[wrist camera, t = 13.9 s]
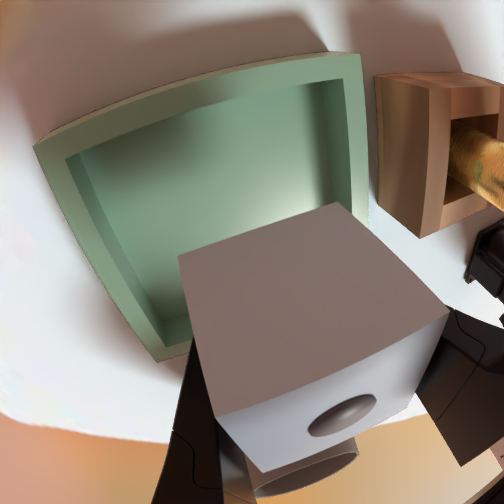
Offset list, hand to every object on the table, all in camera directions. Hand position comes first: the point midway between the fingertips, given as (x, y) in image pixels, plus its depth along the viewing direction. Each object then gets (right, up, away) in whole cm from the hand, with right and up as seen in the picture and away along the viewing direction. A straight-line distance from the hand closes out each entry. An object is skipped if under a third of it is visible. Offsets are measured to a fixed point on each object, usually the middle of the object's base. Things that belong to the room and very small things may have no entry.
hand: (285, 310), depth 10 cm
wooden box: (+10, +9, +7) cm, 15 cm away
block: (0, +1, +1) cm, 1 cm away
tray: (-2, +4, +6) cm, 7 cm away
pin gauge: (+10, +9, +6) cm, 15 cm away
